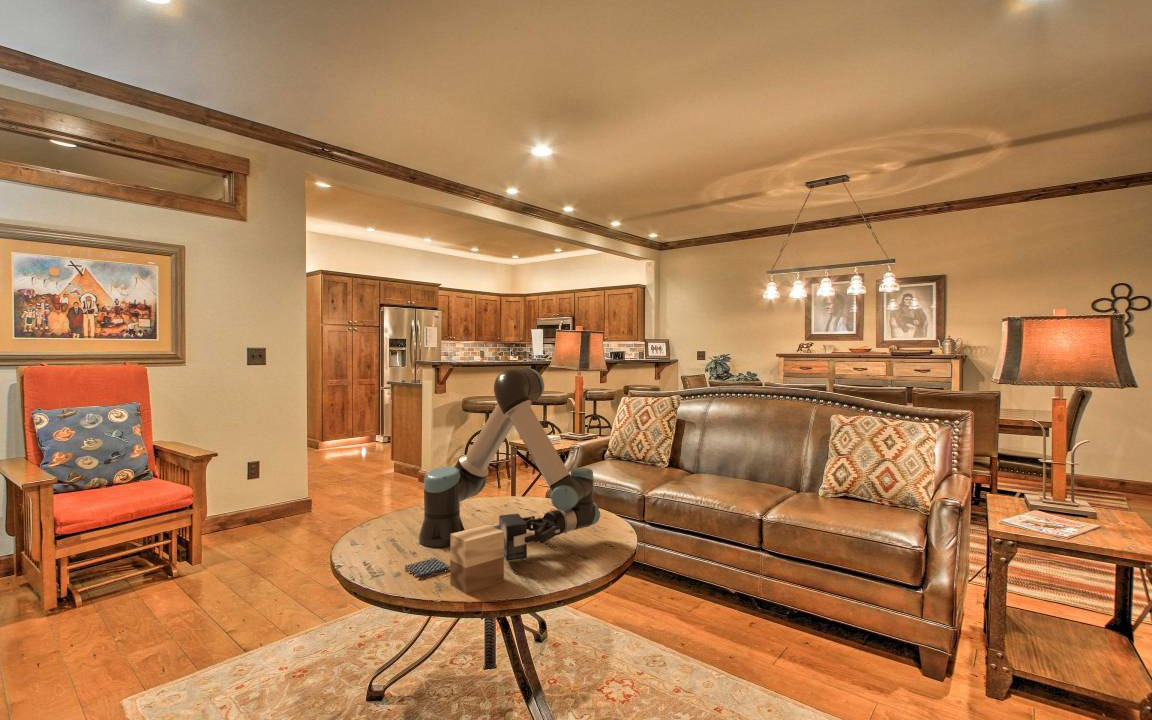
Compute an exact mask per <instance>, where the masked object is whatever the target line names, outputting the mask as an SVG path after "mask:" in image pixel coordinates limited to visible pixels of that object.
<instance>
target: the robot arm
mask: <svg viewBox="0 0 1152 720" xmlns="http://www.w3.org/2000/svg"><path fill="white" fill-rule="evenodd" d="M495 378H496V379H495V381H494V383H493V393H494V394H493V395H494V397H495V400H496V403H497V404H496V406H495V408H494V409H493V411H492V412H491V414H490V415H489V417H488V419H487V421H486V422H485V424H484V425H483V427H482V429H481V431H480V432H479V434H478V435H477V437H476V439H475V441H474V442H473V444H472V445H471V446H470V449H469V450H468V452H467V453H466V454H464V455H463V454H462V455H461V456H459V458H458V460H457V462H456V463H455V465H454V466H441V467H436V468H433V469H430V470H428V471H427V472H426V473H425V475H424V480H423V481H424V482H423V503H424V504H423V505H424V506H423V507H424V508H423V512H424V514H423V516H424V517H423V518H424V519H423V521H422V523H421V527H420V530H419V534H418V543H419V544H420V545H422V546H426V547H429V548H431V547H432V548H445V547H450V534H452V533H456V532H460V531H464V530H465V527H464V523H463V522H462V521H463V520H462V518H461V509H460V508H461V505H460V504H461V502H463V501H465V500H467V499H470V498H473V497H475V496H477V495H478V494H479V493H480V492H482V491H483V490H484V488H485V486H486V484H487V479H488V478H487V476H488V474H489V473H490V472H489V469H488V467H489V465H490V464H491V462H492V460H493V459H494V457H495V455H496V454H497V452H498V450H499V449H500V447H501V446H502V444H503V443H504V441H505V439H506V438H507V436H508V434H509V433H510V431H511V430H512V428H513V427H514V429H515V430H516V431H517V434H518V435H519V437H520V438H521V440H522V442H523V444H524V445H525V447H526V449H527V451H528V452H529V454H530V456H531V457H532V459H533V461H534V463H535V464H536V466H537V468H538V470H539V471H540V473H541V475H542V477H543V478H544V481H545V482H546V483H547V485H548V487H549V488H550V490H551V494H550V500H551V504H552V506H554V508H556V509H554V510H550V511H547V512H546V513H544V515H543V516H542V517H537V518H536V516H534V515H531V516H527V517H526V516H525V517H522V518H523V520H524V521H525V522H526V523H527V530H528V531H530V532H527V533H526V534H522V535H518V536H515V537H514V547H516V546H520V545H524V544H527V545H528V544H531V543H533V542H534V543H538V542H539V544H544V543H546V542H548V541H549V540H551V539H553V538H554V537H557V536H560V535H562V534H567V533H569V532H573V531H575V530H579V529H582V528H588V527H590V526H593V525H595V524H597V523H598V522H599V521H600V518H601V511H600V509H599V506H598V504H597V503H595V502H594V481H595V479H594V471H593V470H592V469H591V468H590V467H581V466H579V467H574V468H572V469H571V470H570V472H569V470H568V468H567V466H566V465H565V463H564V461H563V459H562V458H561V456H560V455H559V453H558V452H557V450H556V448H555V446H554V444H553V443H552V441H551V439H550V437H549V436H548V434H547V432H546V430H545V429H544V427H543V425H542V424H541V422H540V420H539V419H538V417H537V415H536V414H535V412H534V410H533V408H532V407H531V406H532V404H533V402H535V401H537V400H539V399H540V398H541V397H542V395H543V394H544V392H545V382H544V379H543V376H542V375H541V374H540V373H539V371H537V370H536V369H533V368H529V367H522V368H509V369H506V370H503V371H502V372H500V373H499V374H497V377H495ZM491 526H492V527H495V528H497V529H499V523H498V524H493V525H491Z"/></svg>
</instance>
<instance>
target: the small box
mask: <svg viewBox="0 0 1152 720" xmlns="http://www.w3.org/2000/svg"><path fill="white" fill-rule="evenodd" d="M498 518H499V519H498V521H499V523H498V524H499V530H502V531H504V560H506V562H509V561H516V560H517V561H518V560H525V559H527V558H528V550H527V549H528V548H527V547H528V546H527V545H528V543H527V544H524V545H520V546H516V547H514V537H515V536H518V535H522V534H526V533H528V532H527V530H528V529H527V523H526V522H525V521H524V520H523V518H524V517H522V516H521V515H520V514H519V513H508V514H502V515H498Z"/></svg>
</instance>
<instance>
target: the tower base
mask: <svg viewBox="0 0 1152 720" xmlns="http://www.w3.org/2000/svg"><path fill="white" fill-rule="evenodd" d="M504 564H505V557H502V558H498V559H495V560H491V561H488V562H485V563H481V564H478V565H474V566H471V567H468V568H465V567H463V566H461V565H459V564H458V563H456V562H454V561H452V560H451V558H450V560H449V566H450V571H449V572H450V575H449V576H450V577H449V578H450V581H449V585H450V584H451V585H450V586H452V587H453V586H454V588H456V590H459V591H460V592H461V593H463V594H465V595H467V593H468V594H470V592H471V593H472V592H473V591H474V592H476V591H479V590H482V589H485V588H488V587H491V586H494V585H497V584H500V583H503V582H505V566H504ZM474 592H473V593H474Z"/></svg>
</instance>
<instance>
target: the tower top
mask: <svg viewBox="0 0 1152 720" xmlns="http://www.w3.org/2000/svg"><path fill="white" fill-rule="evenodd" d="M492 526H493V525H489V524H486V525H482V526H477V527H473V528H469V529H464V531H460V532H456V533H452V534H450V546H449V548H450V559H451V560H452V561H454V562H456V563H458V564H459V565H461V566H463V567H465V568H468V567H471V566H474V565H478V564H481V563H485V562H488V561H491V560H495V559H498V558H502V557H504V531H502V530H499V529H497V528H495V527H492ZM504 558H505V557H504Z"/></svg>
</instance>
